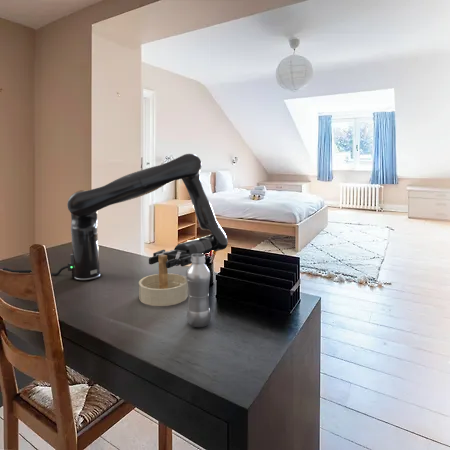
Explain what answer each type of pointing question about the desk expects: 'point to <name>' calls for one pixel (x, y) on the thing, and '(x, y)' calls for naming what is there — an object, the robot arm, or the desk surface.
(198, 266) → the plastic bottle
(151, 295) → the bowl
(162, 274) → the wooden t-shaped block
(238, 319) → the desk surface
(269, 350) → the desk surface
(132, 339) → the desk surface
